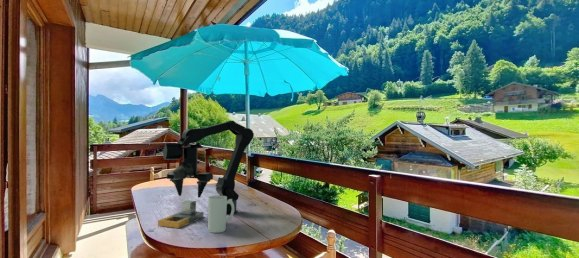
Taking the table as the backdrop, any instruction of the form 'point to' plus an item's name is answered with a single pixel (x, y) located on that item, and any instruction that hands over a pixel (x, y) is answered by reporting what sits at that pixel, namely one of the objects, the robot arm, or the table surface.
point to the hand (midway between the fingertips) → (189, 196)
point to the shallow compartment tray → (179, 219)
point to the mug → (218, 213)
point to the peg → (188, 207)
